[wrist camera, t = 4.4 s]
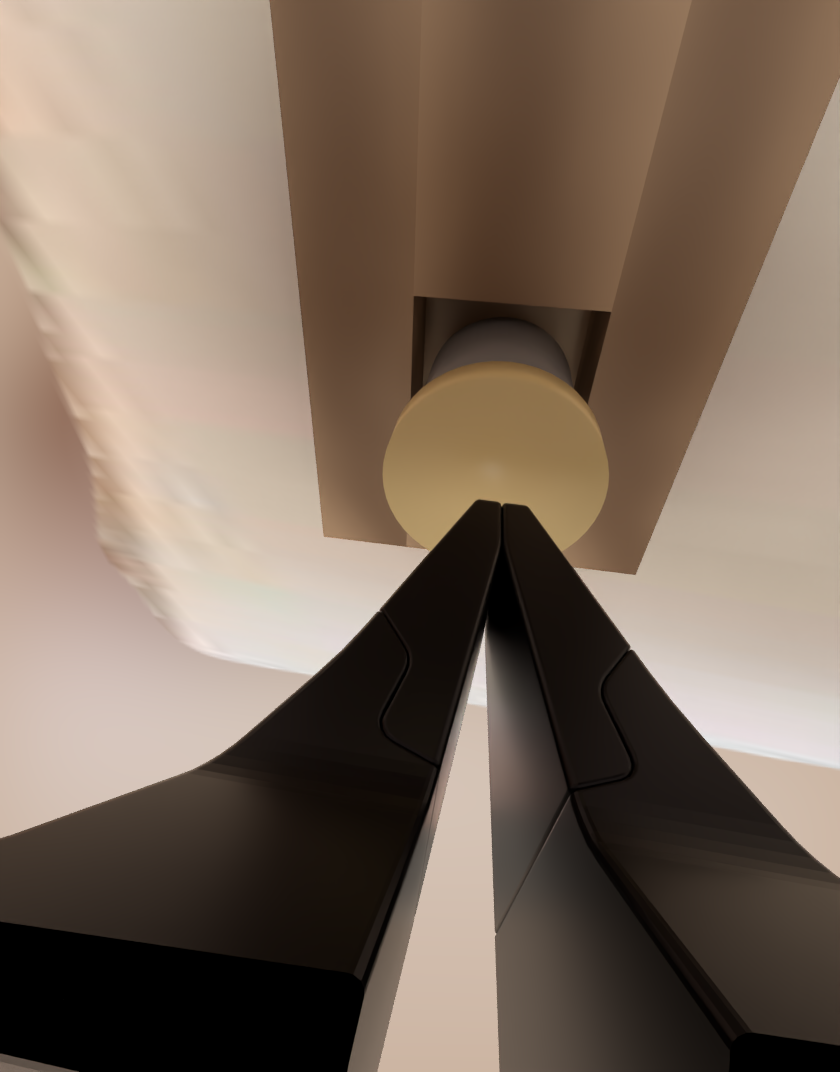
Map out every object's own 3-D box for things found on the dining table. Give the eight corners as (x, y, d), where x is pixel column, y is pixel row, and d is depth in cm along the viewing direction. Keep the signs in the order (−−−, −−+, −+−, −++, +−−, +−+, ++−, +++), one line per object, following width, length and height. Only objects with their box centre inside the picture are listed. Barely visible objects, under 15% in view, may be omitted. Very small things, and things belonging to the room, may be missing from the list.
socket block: (1266, -1306, 6) (1881, -2465, 3) (621, 518, 22) (635, 574, 20) (244, -1142, 7) (75, -1923, 4) (345, 487, 23) (323, 536, 21)
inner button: (604, 310, 15) (639, 392, 10) (564, 469, 18) (579, 580, 14) (419, 294, 15) (381, 368, 11) (413, 453, 18) (383, 556, 14)
